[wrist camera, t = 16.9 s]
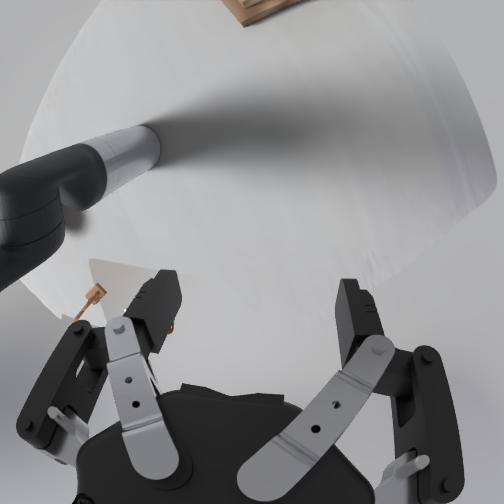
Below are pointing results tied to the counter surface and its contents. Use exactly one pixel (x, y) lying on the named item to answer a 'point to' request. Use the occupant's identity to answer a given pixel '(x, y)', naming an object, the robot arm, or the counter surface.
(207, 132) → the counter surface
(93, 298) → the tan wooden handled piece
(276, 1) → the plinth
